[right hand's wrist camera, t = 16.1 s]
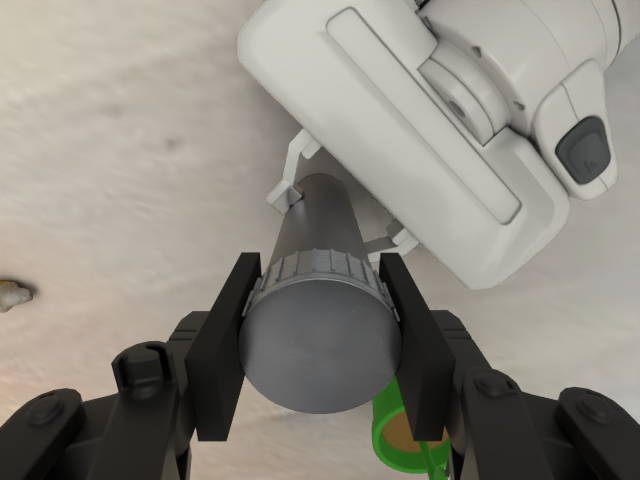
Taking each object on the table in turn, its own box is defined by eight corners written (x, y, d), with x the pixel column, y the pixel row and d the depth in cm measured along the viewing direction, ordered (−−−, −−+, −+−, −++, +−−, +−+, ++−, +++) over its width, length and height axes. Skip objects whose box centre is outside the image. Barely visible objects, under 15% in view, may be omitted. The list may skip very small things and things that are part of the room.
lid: (382, 234, 11) (395, 261, 9) (398, 358, 13) (412, 404, 11) (231, 260, 12) (213, 292, 10) (267, 378, 14) (258, 425, 12)
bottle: (360, 197, 27) (421, 328, 11) (325, 240, 28) (332, 414, 12) (314, 161, 26) (305, 247, 10) (279, 207, 27) (221, 351, 11)
